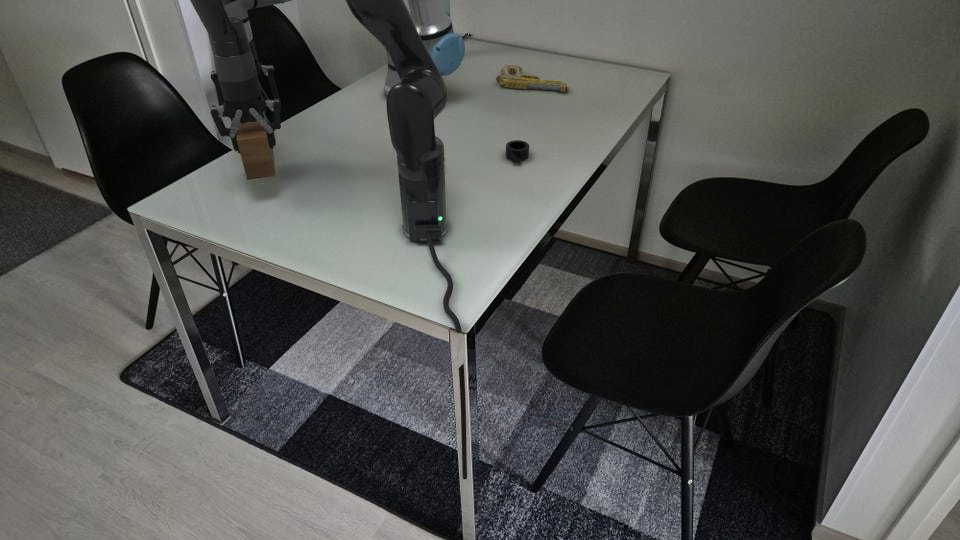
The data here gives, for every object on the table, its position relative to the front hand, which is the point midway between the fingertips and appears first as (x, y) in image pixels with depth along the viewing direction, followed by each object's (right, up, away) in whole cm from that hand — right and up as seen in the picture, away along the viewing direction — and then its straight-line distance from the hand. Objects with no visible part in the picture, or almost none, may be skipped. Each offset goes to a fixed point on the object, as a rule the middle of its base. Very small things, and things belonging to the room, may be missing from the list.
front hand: (255, 149), depth 136 cm
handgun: (+65, +33, +61) cm, 95 cm away
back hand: (-4, +5, +13) cm, 15 cm away
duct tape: (+58, +2, +22) cm, 62 cm away
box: (-2, 0, +9) cm, 9 cm away
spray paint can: (+35, +48, +81) cm, 101 cm away
